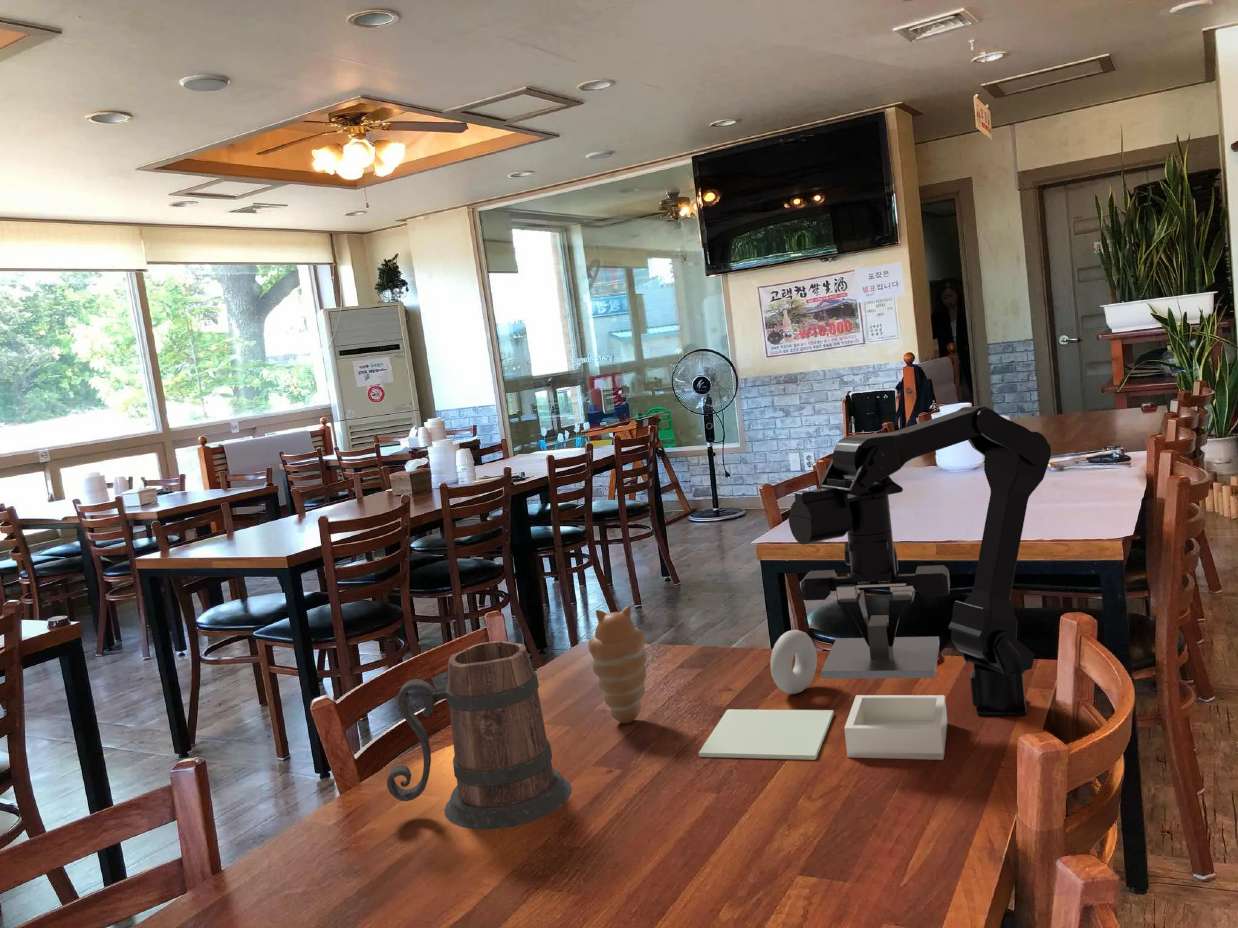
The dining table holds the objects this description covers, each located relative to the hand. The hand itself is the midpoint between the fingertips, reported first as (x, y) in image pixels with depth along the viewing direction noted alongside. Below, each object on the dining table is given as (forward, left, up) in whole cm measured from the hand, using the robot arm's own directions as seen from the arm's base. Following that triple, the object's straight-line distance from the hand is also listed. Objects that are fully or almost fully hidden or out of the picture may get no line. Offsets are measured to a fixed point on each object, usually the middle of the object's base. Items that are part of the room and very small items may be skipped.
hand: (881, 645), depth 132 cm
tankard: (+50, +23, -13) cm, 57 cm away
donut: (+16, -18, -13) cm, 27 cm away
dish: (-1, 0, -13) cm, 13 cm away
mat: (+17, -1, -13) cm, 21 cm away
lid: (0, 0, -2) cm, 2 cm away
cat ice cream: (+40, -5, -13) cm, 42 cm away
